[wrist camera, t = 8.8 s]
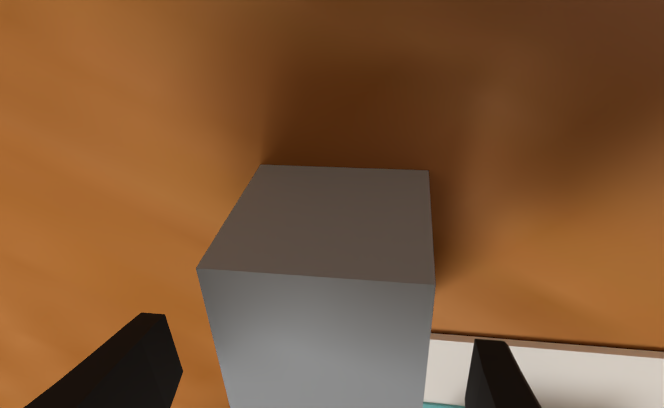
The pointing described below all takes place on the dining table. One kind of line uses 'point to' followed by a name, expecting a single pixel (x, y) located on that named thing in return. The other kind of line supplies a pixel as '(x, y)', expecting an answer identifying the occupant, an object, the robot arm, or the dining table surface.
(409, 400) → the slate block
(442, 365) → the board
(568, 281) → the dining table surface
